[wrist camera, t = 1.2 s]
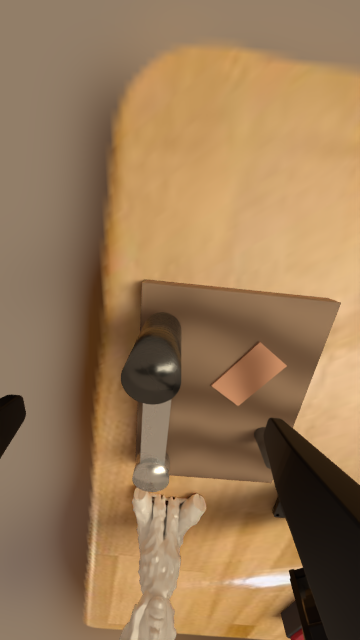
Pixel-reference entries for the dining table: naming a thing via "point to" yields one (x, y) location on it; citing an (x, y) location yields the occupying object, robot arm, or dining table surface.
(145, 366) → the lever
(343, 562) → the robot arm
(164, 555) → the sitting furry creature
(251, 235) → the dining table surface
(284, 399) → the board
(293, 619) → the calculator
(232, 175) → the dining table surface
